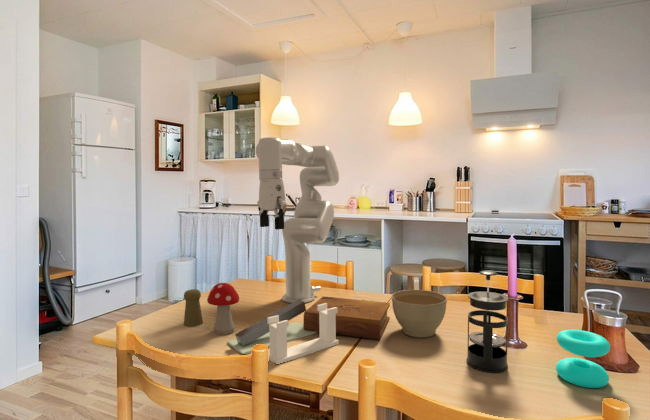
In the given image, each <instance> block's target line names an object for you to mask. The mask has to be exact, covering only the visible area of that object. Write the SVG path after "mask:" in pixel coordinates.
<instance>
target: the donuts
mask: <svg viewBox="0 0 650 420" xmlns="http://www.w3.org/2000/svg"><path fill="white" fill-rule="evenodd" d="M556 341H557V344H558V345H559V346H560V347H561V349H563V350H565V351H566V352H569V353H570V354H573V355H577V356H580V357H586V358H600V357H604V356H605V355H607V354H608V353H610V350H611V345H610V343H609V341H608V340H607V339H606V338H605V337H603V335H600V334H597V333H596V332H595V333H594V332H591V331H587V330H584V329H583V330H581V329H574V328H573V329H571V328H570V329H565V330H561V331H559V332H558V334H557V335H556ZM580 357H565V358H562V359H560V360H559V361H557V363H556V365H555V370H556V373H557V374H558V376H560V378H561V379H563V380H564V381H566V382H568V383H570V384H572V385H575V386H578V387H581V388H582V387H583V388H586V389H588V388H589V389H599V388H603V387H605V386H606V385H608V383H609V382H610V376H609V374H608V372H607V371H606V369H605V368H604V367H603V366H601V365H600V364H598V363H596V362H594V361H591V360H588V359H586V358H580Z"/></svg>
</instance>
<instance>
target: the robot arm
mask: <svg viewBox="0 0 650 420" xmlns="http://www.w3.org/2000/svg"><path fill="white" fill-rule="evenodd" d="M255 154H256V157H257V159H258V176H259V177H258V180H259V189H258V201H257V203H256V204H257V210H258V213H259V214H258V215H259V227H260V228H268V227H270V215H269V211H270V212H273V213H274V215H275V216H274V229H275V230H276V231H277V230H281V231H282V232H281V233H282V238H283V242H284V243H283V244H284V254H285V256H284V257H285V259H284V260H285V293H284V294H283V295H282V297H281V298H282V299H281V300H282V301H283V302H284V303H288V304H291V303H293V302H295V301H297V300H298V299H299V300H301V301H304V303H311V302H312V301H314V300H315V297H316V295H315V294H314V293H315V292H319V291H321V289H322V288H321V285H317V286H315V285H311V254H310V250H309V248H308V247H307V245H306V244H322V243H324V242H325V241H326V240H327V238H328V235H329V233H330V229H331V226H332V224H333V221H334V217H335V209H334V205H333V204H332V202H330V201H328V200H322V196H321V193H320V192H319V191H318V190H317V189H316V188H315V187H334V186H336V185H337V184H338V183H339V180H340V173H339V168H338V166H337V163H336V160H335V159H336V158H335V156H334V155H333V154H334V153H333V152H332V150H331V148H329V147H328V146H327V145H306V144H302V143H299V142H295V141H294V140H291V139H288V138H287V139H283V138H282V139H281V138H278V137H272V136H271V137H270V136H269V137H261V138H260V139H259V140H258V143H257V145H256V147H255ZM283 165H284V166H285V165H286V166H295V167H296V166H297V167H304V168H302V169H301V171H299V172H300V173H299V184H300V190H301V197H299V198H300V199H299V201H298V202H297V204H296V207H295V208H294V212H293V214H294V215H293V216H294V217H292V218H288V219H286V220H285V215H286V212H287V205H288V203H287V202H286V191H285V183H284V180H283Z"/></svg>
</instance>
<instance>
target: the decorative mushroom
mask: <svg viewBox="0 0 650 420" xmlns="http://www.w3.org/2000/svg"><path fill="white" fill-rule="evenodd" d="M206 301H207V303H208V304H209V305H212V306H217V308H216V309H217V310H216V317H215V323H214V325H213V330H214V332H215V333H214V334H217V335H231V334H233V333H235V329H236V326H235V323H234V321H233V316H232V311H231V306H232V305H235V304H238V303H240V295H239V294H238V292H237V291H236V289H235V287H234V286H233V285H232V284H231V283H227V282H219V283H217V284H215V285H214V286H212V287H211V289H210V292H209V294H208V296H207V300H206Z"/></svg>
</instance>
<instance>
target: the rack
mask: <svg viewBox="0 0 650 420" xmlns="http://www.w3.org/2000/svg"><path fill="white" fill-rule="evenodd" d="M317 310H318V311H319V333H318V334H319V337H317V338H314V339H312V340H308V341H305V342H301V343H299V344H295V345H292V346H289V347H288V342H287V327H289V324H290V323H289V321H288V320H284V321H281V322H279V316H278V315H276V316H272V317H268V318H267V323H268V324H269V339H270V347H269V353H268V354H269V359H268V360H269V361H270V362H272V363H273V362H274V363H273V364H275V363H276V364H279V365H281V364H280V363H282V364H284V363H283V362H285V363H287V361H288V362H290V360H291V361H293V360H296V359H299V358H302V357H305V356H309V355H310V354H313V353H317V352H319V351H323V350H326V349H328V348H330V347H335V346H337V345H339V344H340V339H337V336H336V335H337V334H336V313H338V308H337V307H333V308H330V309H327V303H324V304H320V305H317ZM321 310H322V311H321ZM276 364H275V365H276Z"/></svg>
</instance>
